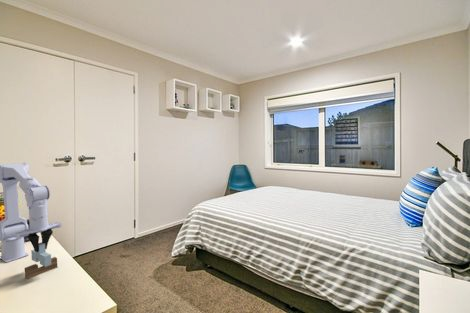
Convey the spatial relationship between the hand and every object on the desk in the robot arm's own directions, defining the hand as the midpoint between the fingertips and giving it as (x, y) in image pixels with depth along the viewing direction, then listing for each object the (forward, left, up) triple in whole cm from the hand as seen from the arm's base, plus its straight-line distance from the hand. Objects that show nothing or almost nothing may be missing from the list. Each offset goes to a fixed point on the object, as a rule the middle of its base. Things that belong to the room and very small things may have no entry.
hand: (40, 250), depth 93 cm
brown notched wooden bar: (0, 0, -9) cm, 9 cm away
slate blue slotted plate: (0, 0, -5) cm, 5 cm away
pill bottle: (-48, +12, -10) cm, 50 cm away
